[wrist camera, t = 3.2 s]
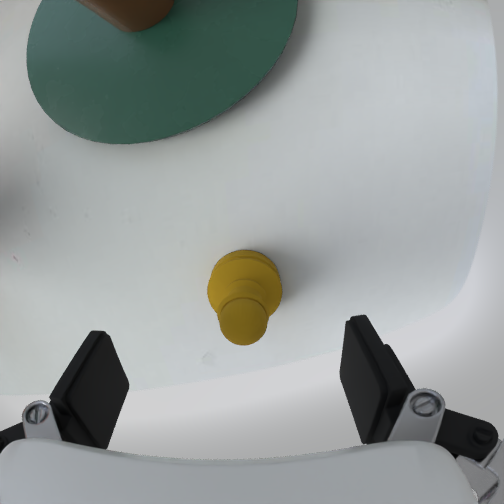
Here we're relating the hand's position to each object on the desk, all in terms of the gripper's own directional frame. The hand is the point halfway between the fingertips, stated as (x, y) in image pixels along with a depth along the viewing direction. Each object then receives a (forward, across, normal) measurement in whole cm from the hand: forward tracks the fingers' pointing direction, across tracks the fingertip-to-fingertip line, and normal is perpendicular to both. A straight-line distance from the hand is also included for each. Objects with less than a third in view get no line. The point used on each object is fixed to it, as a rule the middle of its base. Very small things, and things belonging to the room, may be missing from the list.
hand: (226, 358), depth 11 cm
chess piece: (+7, -1, 0) cm, 7 cm away
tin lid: (+6, +3, -16) cm, 17 cm away
